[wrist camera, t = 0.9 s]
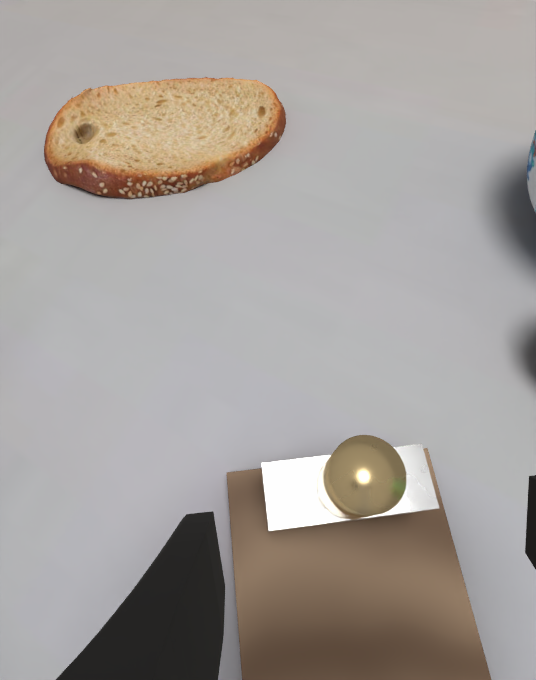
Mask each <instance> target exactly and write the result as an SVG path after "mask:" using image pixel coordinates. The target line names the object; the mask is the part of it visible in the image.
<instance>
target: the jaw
mask: <svg viewBox="0 0 536 680" xmlns="http://www.w3.org/2000/svg"><path fill="white" fill-rule="evenodd" d="M262 482H263V491H264V500H265V509H266V519H267V528H268V532H272V531H280V530H287V529H295V528H302V527H310V526H318V525H325V524H333V523H340V522H348V521H356V520H363V519H371V518H378V517H386V516H393V515H401V514H409V513H415V512H421V511H427V510H433V509H438V508H439V505H438V501H437V498H436V494H435V490H434V486H433V483H432V479H431V475H430V472H429V468H428V464H427V461H426V457H425V453H424V450H423V446H422V444H416V445H408V446H400V447H392V446H391V445H390V444H388V443H387V442H385V441H384V440H382V439H380V438H377V437H374V436H370V435H359V436H354V437H351V438H349V439H347V440H345V441H344V442H343V443H341V444H340V445H339V446H338V448H337V449H336V450H335V451H334V452H333V454H332V455H325V456H317V457H309V458H301V459H293V460H284V461H276V462H268V463H262Z"/></svg>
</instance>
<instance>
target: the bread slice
mask: <svg viewBox="0 0 536 680" xmlns="http://www.w3.org/2000/svg"><path fill="white" fill-rule="evenodd" d="M285 125H286V118H285V110H284V107H283V105H282V103H281V102H280V101H279V99H278V98H277V95H276V93H275V92H274V91H273V90H272V89H271V88H270V87H269V86H267V85H265V84H263V83H261V82H259V81H257V80H244V79H234V78H220V79H214V78H207V77H205V78H187V79H172V80H162V81H150V82H141V83H129V84H122V85H117V86H103V87H98V88H96V89H91V88H89V89H86V90H84V91H83V92H81V94H79V95H78V96H76V97H74V98H71V99H70V100H69V101H68V102H67V103H66V104H65V105H64V106H63V107H62V108H61V109H60V110H59V112H58V113H57V114H56V116H55V118H54V120H53V122H52V123H51V125H50V127H49V129H48V132H47V135H46V140H45V146H44V157H45V162H46V164H47V166H48V168H49V170H50V172H51V174H52V176H53V177H54V179H55V180H56V181H57V182H59V183H61V184H69V185H73V186H76V187H80V188H82V189H84V190H86V191H89V192H91V193H94V194H98V195H102V196H107V197H113V198H124V199H133V198H150V197H156V196H163V195H171V194H176V193H185V192H187V191H190V190H192V189H195V188H197V187H199V186H201V185H204V184H207V183H213V182H219V181H221V180H224V179H226V178H228V177H230V176H233V175H235V174H237V173H239V172H241V171H243V170H245V169H246V168H248V167H250V166H251V165H253V164H255V163H257V162H258V161H259V160H261V159H262V158H263V157H264V156H265V155H266V154H267V153H269V152H270V151H271V150H272V149H273V147H274V146H275V145H276V144H277V143H278V142H279V140H280V138H281V136H282V134H283V132H284V128H285Z"/></svg>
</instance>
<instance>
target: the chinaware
mask: <svg viewBox="0 0 536 680" xmlns="http://www.w3.org/2000/svg"><path fill="white" fill-rule="evenodd" d="M527 185H528V192H529V196H530V200H531V203H532V206H533V208H534V210H535V212H536V131H535V134H534V137H533V140H532V144H531V148H530V152H529V157H528V165H527Z"/></svg>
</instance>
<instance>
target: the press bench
mask: <svg viewBox="0 0 536 680" xmlns="http://www.w3.org/2000/svg"><path fill="white" fill-rule="evenodd" d="M423 450H424V453H425V457H426V461H427V464H428V468H429V472H430V475H431V479H432V483H433V486H434V490H435V494H436V498H437V501H438V505H439V508H438V509H433V510H427V511H421V512H415V513H409V514H401V515H393V516H386V517H378V518H371V519H363V520H356V521H348V522H340V523H333V524H325V525H318V526H310V527H302V528H295V529H287V530H280V531H272V532H268V528H267V519H266V509H265V500H264V491H263V482H262V468H261V469H253V470H244V471H236V472H228V473H227V484H228V498H229V511H230V524H231V537H232V550H233V564H234V577H235V590H236V603H237V616H238V630H239V643H240V656H241V669H242V680H491V677H490V673H489V670H488V666H487V662H486V659H485V655H484V652H483V648H482V644H481V641H480V637H479V633H478V630H477V626H476V623H475V619H474V615H473V612H472V608H471V604H470V601H469V597H468V594H467V590H466V586H465V583H464V579H463V575H462V572H461V568H460V565H459V561H458V557H457V554H456V550H455V546H454V543H453V539H452V536H451V532H450V528H449V525H448V521H447V517H446V514H445V510H444V507H443V503H442V499H441V496H440V492H439V488H438V485H437V481H436V478H435V474H434V470H433V467H432V463H431V459H430V456H429V452H428V449H427V448H425V449H423Z"/></svg>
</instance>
